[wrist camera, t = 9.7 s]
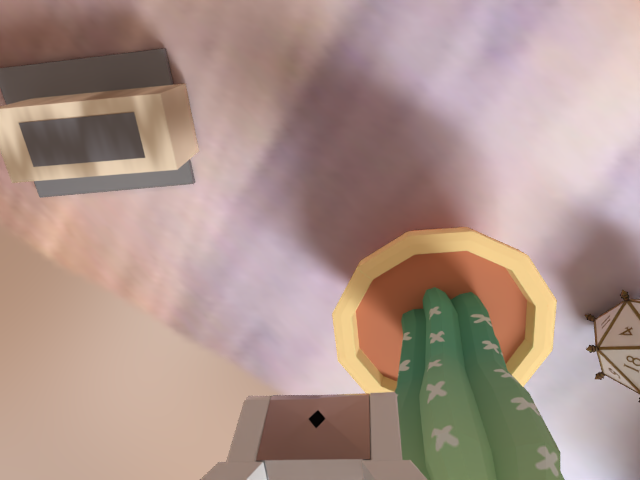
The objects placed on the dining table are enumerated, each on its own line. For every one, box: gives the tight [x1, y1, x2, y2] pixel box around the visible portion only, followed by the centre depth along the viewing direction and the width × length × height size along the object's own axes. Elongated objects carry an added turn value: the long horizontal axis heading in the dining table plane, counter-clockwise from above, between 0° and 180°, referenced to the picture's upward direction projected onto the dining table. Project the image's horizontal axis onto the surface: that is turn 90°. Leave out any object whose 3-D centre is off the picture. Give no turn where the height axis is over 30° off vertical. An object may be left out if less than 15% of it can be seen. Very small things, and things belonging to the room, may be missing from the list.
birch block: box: [0, 84, 199, 183], centre depth 35 cm, size 5×5×12 cm
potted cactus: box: [332, 227, 564, 480], centre depth 30 cm, size 15×15×25 cm
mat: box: [0, 48, 195, 197], centre depth 38 cm, size 10×13×1 cm
